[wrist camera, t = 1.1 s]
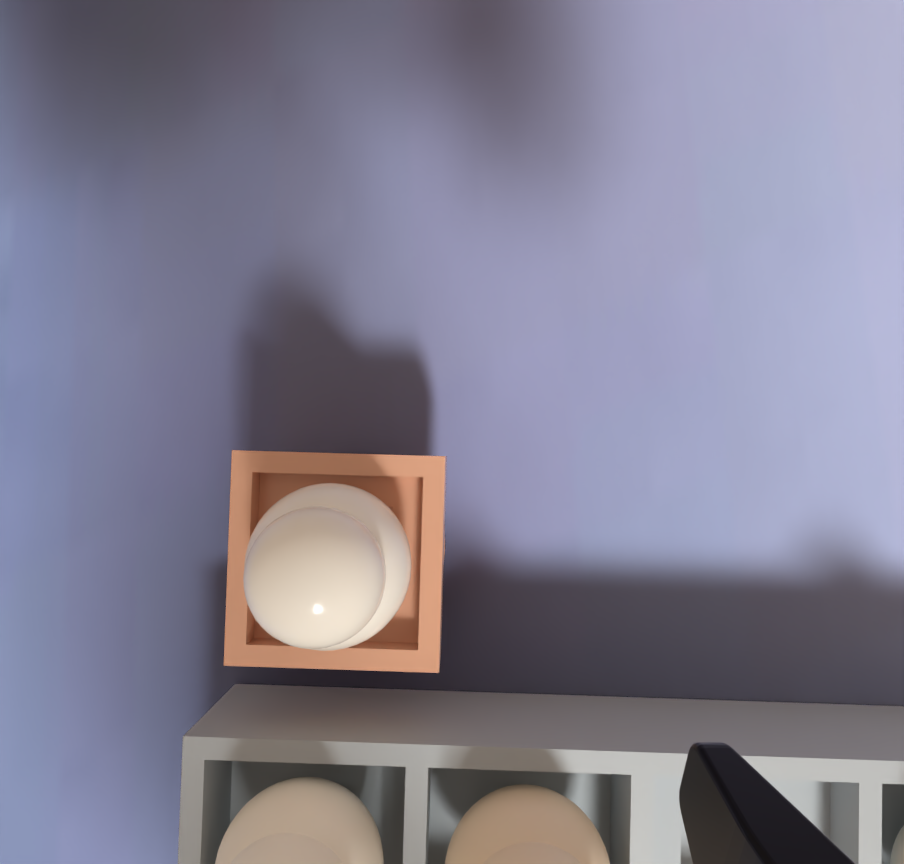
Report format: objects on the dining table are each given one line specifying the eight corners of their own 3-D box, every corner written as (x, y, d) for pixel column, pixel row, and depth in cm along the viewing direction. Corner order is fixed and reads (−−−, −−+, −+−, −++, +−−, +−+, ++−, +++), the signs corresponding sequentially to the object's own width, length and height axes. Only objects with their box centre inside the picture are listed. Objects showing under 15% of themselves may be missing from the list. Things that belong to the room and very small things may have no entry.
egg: (414, 630, 22) (397, 693, 16) (266, 625, 22) (197, 686, 16) (418, 482, 22) (403, 491, 16) (272, 478, 22) (204, 485, 16)
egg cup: (442, 638, 24) (439, 673, 20) (261, 632, 24) (223, 665, 20) (448, 456, 24) (445, 456, 20) (267, 451, 24) (231, 450, 20)
